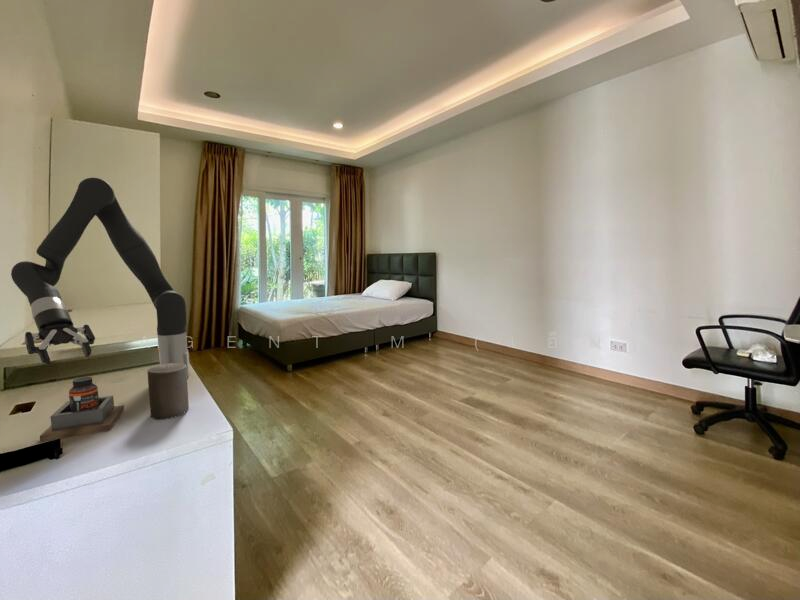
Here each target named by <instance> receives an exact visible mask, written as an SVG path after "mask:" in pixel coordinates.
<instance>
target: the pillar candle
mask: <svg viewBox="0 0 800 600" xmlns="http://www.w3.org/2000/svg"><path fill="white" fill-rule="evenodd" d="M186 367H187V366H186V365H185V364H180V363H170V364H167V363H166V364H163V365H160V364H159V365H155V366H152V367H150V368H148V370H147V384H148V396H149V409H150V410H149V411H150V418H152V419H154V420H166V418H168V419H171V417H173V418H176V417H175V416H177V417H179V416H178V415H180V414H182V413H184V412H186V411H187V410H188V409H189V410H190V406H189V404H190V403H189V387H188V377H187V369H186ZM189 410H188V411H189ZM188 411H187V412H188ZM187 412H186V413H187ZM184 414H185V413H184ZM182 415H183V414H182ZM180 416H181V415H180Z"/></svg>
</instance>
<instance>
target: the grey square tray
mask: <svg viewBox="0 0 800 600" xmlns="http://www.w3.org/2000/svg"><path fill="white" fill-rule="evenodd" d="M98 397H99V396H98ZM114 406H115V401H114V395H106V396H100V397H99V407H98V408H95V409H88V410H81V411H74V412H71V409H70V400H69V401H66V402H65V403H64V404H62V406H60V407H59V408H58V409H57V410H56V411H54V413H52V414H51V415H50V426H52V431H57V430H64V429H70V428H76V427H82V426H89V425H95V424H101V423H104V422H105V420H106V419H107V418H108V416H109V415H110V414H111V412H112V411H113V410H114Z"/></svg>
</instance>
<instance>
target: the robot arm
mask: <svg viewBox="0 0 800 600" xmlns="http://www.w3.org/2000/svg"><path fill="white" fill-rule="evenodd" d="M95 216H96V218H97V219H98V220H99V221H100V222H101V224H102V225H103V228H104V230H105V231H106V233H107V235H108V238H109V239H110V242H111V244H112V246H113V247H114V249H115V250H116V252H117V254H118V255H119V256H120V258H121V260H122V261H123V262H124V264H125V265H126V267H127V268H128V269H129V271H130V272H131V273H132V274H133V275H134V276H135V278H136V279H137V281H139V282H140V283H141V285H142V286H143V287H144V289H145V291H146V292H147V294H148V296H149V298H150V300H151V302H152V304H153V306H154V309H155V310H156V322H157V323H156V334H157V346H158V347H157V348H158V358H159V365H163V364H166V363H167V364H170V363H180V364H185V365H186V366H187V367H186V369H187V378H189V377H190V374H191V369H190V351H189V349H188V341H187V340H188V339H187V324H188V323H187V307H186V301H185V297H183V295H182V294H180V293H179V292H176V291H175V289H174V288H173V287H172V285H170V283H169V282H168V280H167V279H166V278H165V276H164V274H163V272H162V269H161V268H160V264H159V262H158V260H157V258H156V255H155V253H154V252H153V250H152V248H151V247H150V246H149V244H148V242H147V241H146V240H145V237H143V235H142V234H141V232H140V231H139V230H138V229H137V228H136V226H135V225H133V224H132V222H131V221H130V220H129V219H128V217H127V215H126V213H124V210H123V209H122V207H121V205H120V203H119V201H118V198H117V197H116V194H115V191H114V189H113V187H112V186H111V184H110V183H108V182H107V181H106V180H105V179H102V178H98V177H87V178H84V179H83V180H81V181H80V182H79V184H78V186H77V189H76V192H75V193H74V195H73V198H72V200H71V202H70V204H69V206H68V208H67V209H66V211H65V213H63V215H62V216H61V218H60V219H59V220H58V221H57V222H56V224H55V225H54V226H53V227H52V229H51V230H50V231H49V232H48V234H47V235H46V236H45V238H44V239H43V240H42V241H41V242H40V244H39V246H38V247H37V249H36V254H37V255H38V256H40V257H41V258H43V259H44V260H45V265H41V264H38V263H35V262H32V261H26V260H25V261H24V260H23V261H20V262H18V263H16V264H15V265H14V266H13V267H12V268H11V273H10V274H11V275H10V276H11V279H12V281H13V283H14V284H15V286H16V287H17V288H18V289H19V290H20V291H21V292H22V294H23V295H24V296H25V297H27V301H28V303H29V305H30V308H31V314H32V318H33V320H34V322H35V325H36V327H37V330H38V332H36V333H32V332H31V331H26V332H25V334H24V342H25V346H26V350H27V354H29V355H34V354H37V355H38V356H39V358H40V362H41V363H42V364H45V365H49V364H51V357H50V356H49V353H48V351H47V350H48V349H49V348H50V346H52V345H54V346H58V345H61V344H63V345H65V344H69V343H71V344H73V345H78V346H79V347H81V350H82V352H83V355H84V357H85V358H88V357H90V355H91V354H92V348H91V346H90V345H94V343H95V340H96V336H95V335H94V333H93V331H92V329H91V327H90V325H88V324H83V326H81V327H77V326H75V324H74V322H73V321H72V318H71V316H70V315H71V314H70V313H69V310H68V308H67V306H66V304H65V303H64V301H63V299H62V296H61V294H60V291H58V288H56V287H55V286H56V285H57V283H58V282H59V280H60V278H61V274H62V271H63V269H64V265H65V262H66V260H67V259H68V257H69V255H70V254H71V253H72V251H73V250H74V249H75V248H76V246H77V245H78V242H79V241H80V240H81V237H82V236H83V234H84V232H85V230H86V228H87V227H88V225H89V224H90V223H91V221H92V220H93V219H94V218H95ZM79 333H80V334H79ZM82 335H84V337H83V336H82ZM37 338H38V339H40V340H41V341H42V343H40V345H39V346H35V341H36V340H37Z"/></svg>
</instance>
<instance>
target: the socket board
mask: <svg viewBox="0 0 800 600" xmlns="http://www.w3.org/2000/svg"><path fill="white" fill-rule="evenodd" d="M124 411H125V405H116V406H115V405H114V410H113V411H112V412H111V414H110V415H109V416H108V418H107V419H106V420H105V422H104V423H101V424H95V425H89V426H82V427H76V428H70V429H64V430H57V431H52V426H51V425H50V426H49V427H47V428H46V429H45V430H44V431H43V432H42V433H41V434H40V435H39V442H46V441H53V440H59V439H65V438H70V437H76V436H82V435H88V434H95V433H101V432H105V431H106V432H107V431H111V430H112V428H113V427H114V425H115V424H116V422H117V421H118V419H119V418H120V417H121V415H122V414H123V412H124Z"/></svg>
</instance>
